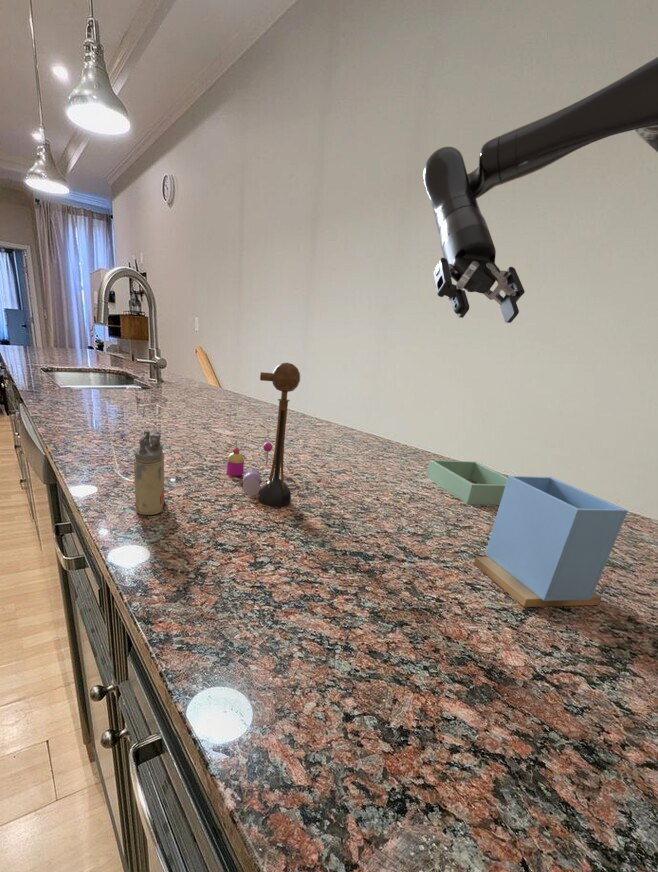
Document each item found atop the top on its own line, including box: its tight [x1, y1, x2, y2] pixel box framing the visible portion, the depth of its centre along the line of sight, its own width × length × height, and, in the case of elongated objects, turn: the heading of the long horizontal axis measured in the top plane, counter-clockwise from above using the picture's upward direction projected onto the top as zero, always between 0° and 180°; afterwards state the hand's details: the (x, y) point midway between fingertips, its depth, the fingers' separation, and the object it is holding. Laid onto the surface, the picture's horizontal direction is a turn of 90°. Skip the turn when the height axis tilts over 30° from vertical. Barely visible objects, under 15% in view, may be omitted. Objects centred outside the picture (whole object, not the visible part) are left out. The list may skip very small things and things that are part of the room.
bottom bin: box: [425, 459, 508, 506], centre depth 74 cm, size 9×13×5 cm
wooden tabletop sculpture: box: [258, 362, 301, 508], centre depth 63 cm, size 6×5×20 cm
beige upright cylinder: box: [133, 430, 166, 516], centre depth 60 cm, size 7×4×10 cm, turn 8°
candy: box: [226, 439, 273, 497], centre depth 76 cm, size 18×8×6 cm, turn 3°
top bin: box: [485, 475, 629, 601], centre depth 48 cm, size 6×10×10 cm, turn 10°
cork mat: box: [473, 556, 602, 608], centre depth 50 cm, size 9×9×1 cm
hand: (488, 316), depth 70 cm, fingers open, 8 cm apart
